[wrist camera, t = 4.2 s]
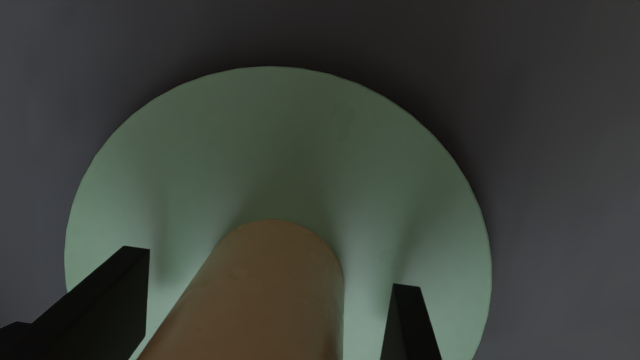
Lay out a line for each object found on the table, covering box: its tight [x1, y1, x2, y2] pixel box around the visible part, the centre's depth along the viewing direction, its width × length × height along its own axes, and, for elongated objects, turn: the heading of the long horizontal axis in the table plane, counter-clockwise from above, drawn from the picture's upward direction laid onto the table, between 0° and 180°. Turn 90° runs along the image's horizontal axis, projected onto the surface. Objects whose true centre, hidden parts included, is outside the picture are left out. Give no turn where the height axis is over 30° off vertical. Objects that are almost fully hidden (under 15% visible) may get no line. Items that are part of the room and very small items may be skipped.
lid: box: [64, 66, 492, 360], centre depth 13 cm, size 13×13×10 cm
